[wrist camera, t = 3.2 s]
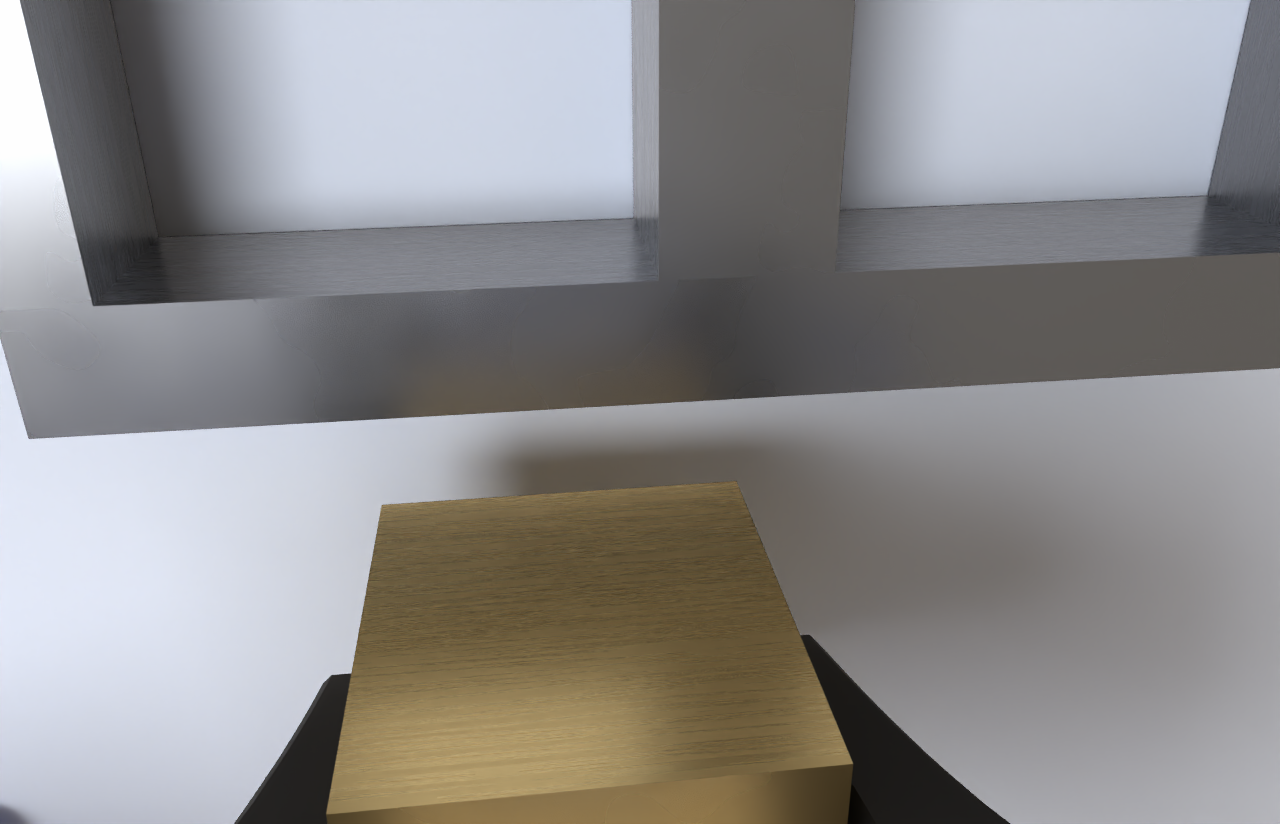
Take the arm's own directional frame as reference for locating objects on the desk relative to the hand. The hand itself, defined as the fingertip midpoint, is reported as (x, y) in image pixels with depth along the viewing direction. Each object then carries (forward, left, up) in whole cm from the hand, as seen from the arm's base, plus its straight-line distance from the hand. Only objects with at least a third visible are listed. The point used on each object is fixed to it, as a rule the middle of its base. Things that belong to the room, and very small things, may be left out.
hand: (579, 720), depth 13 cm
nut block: (0, 0, -2) cm, 2 cm away
